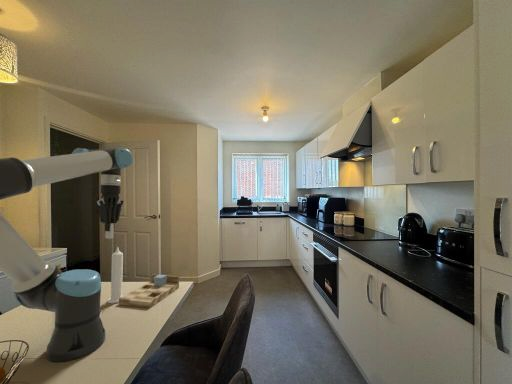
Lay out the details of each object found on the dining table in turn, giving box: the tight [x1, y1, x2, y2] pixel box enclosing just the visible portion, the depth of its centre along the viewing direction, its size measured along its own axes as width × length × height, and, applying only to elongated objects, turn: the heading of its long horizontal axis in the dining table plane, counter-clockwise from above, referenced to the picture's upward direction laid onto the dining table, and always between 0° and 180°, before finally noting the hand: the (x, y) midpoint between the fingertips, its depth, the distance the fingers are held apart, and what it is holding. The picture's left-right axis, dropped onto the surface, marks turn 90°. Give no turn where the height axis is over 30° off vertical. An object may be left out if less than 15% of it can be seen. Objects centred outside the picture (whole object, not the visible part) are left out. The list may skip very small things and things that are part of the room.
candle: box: [107, 246, 124, 304], centre depth 109 cm, size 7×7×25 cm
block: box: [154, 274, 167, 287], centre depth 122 cm, size 4×4×4 cm
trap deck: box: [118, 273, 180, 309], centre depth 114 cm, size 24×16×6 cm, turn 168°
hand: (109, 238), depth 102 cm, fingers closed
